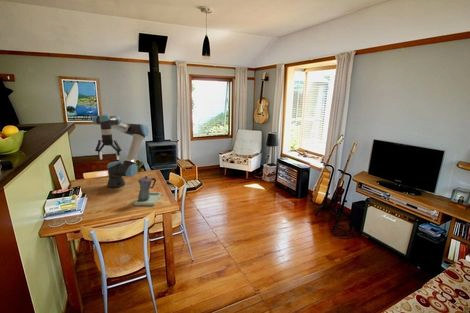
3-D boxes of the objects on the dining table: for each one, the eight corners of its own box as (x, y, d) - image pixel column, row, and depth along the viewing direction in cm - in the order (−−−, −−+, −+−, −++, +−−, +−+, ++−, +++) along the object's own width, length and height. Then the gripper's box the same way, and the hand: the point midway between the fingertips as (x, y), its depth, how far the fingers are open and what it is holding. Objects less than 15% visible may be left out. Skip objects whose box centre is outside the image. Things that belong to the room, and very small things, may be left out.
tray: (142, 194, 211) (142, 192, 210) (161, 194, 212) (161, 192, 211) (134, 205, 191) (133, 202, 190) (154, 205, 192) (154, 203, 191)
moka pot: (132, 196, 198) (136, 174, 193) (149, 194, 210) (153, 173, 205) (137, 202, 192) (141, 179, 188) (155, 199, 204) (159, 177, 199)
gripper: (88, 134, 189) (91, 160, 195) (120, 135, 191) (123, 160, 196) (93, 133, 197) (96, 158, 202) (124, 133, 198) (126, 158, 203)
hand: (109, 159), depth 199 cm, fingers open, 13 cm apart
